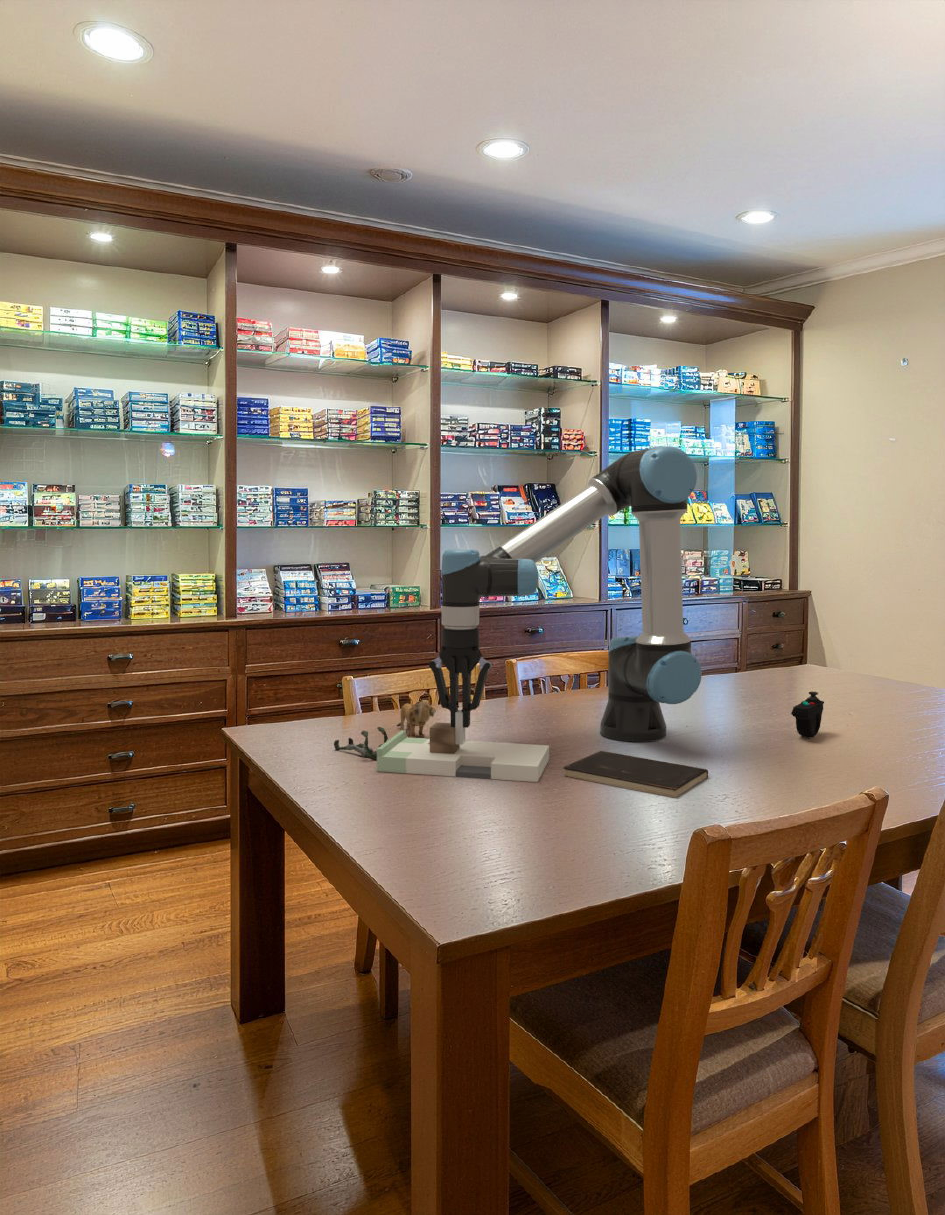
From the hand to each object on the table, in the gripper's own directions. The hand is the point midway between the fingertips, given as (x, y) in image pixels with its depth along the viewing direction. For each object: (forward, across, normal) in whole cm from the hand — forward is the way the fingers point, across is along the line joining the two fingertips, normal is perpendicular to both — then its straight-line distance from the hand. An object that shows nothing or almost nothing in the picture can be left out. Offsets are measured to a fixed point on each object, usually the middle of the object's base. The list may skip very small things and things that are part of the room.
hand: (460, 742), depth 173 cm
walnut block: (+2, +3, 0) cm, 4 cm away
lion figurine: (+5, +16, -23) cm, 29 cm away
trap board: (+5, -1, 0) cm, 5 cm away
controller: (+5, -72, -40) cm, 83 cm away
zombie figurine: (+5, +22, -3) cm, 23 cm away
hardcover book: (+5, -35, 0) cm, 35 cm away
